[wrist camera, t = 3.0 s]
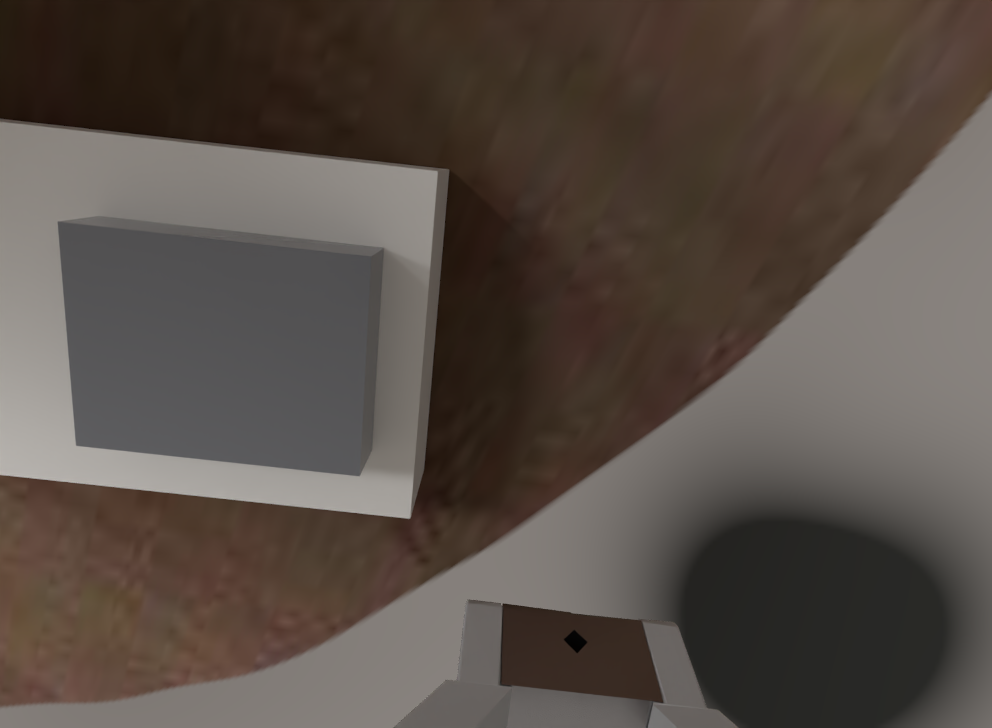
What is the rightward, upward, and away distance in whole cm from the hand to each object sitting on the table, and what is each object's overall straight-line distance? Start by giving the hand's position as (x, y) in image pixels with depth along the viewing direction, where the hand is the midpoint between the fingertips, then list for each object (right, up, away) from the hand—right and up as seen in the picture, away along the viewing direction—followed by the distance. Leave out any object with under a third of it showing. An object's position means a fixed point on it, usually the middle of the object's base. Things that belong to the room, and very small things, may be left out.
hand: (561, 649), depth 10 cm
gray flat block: (-9, +5, +12) cm, 16 cm away
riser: (-12, +6, +16) cm, 21 cm away
